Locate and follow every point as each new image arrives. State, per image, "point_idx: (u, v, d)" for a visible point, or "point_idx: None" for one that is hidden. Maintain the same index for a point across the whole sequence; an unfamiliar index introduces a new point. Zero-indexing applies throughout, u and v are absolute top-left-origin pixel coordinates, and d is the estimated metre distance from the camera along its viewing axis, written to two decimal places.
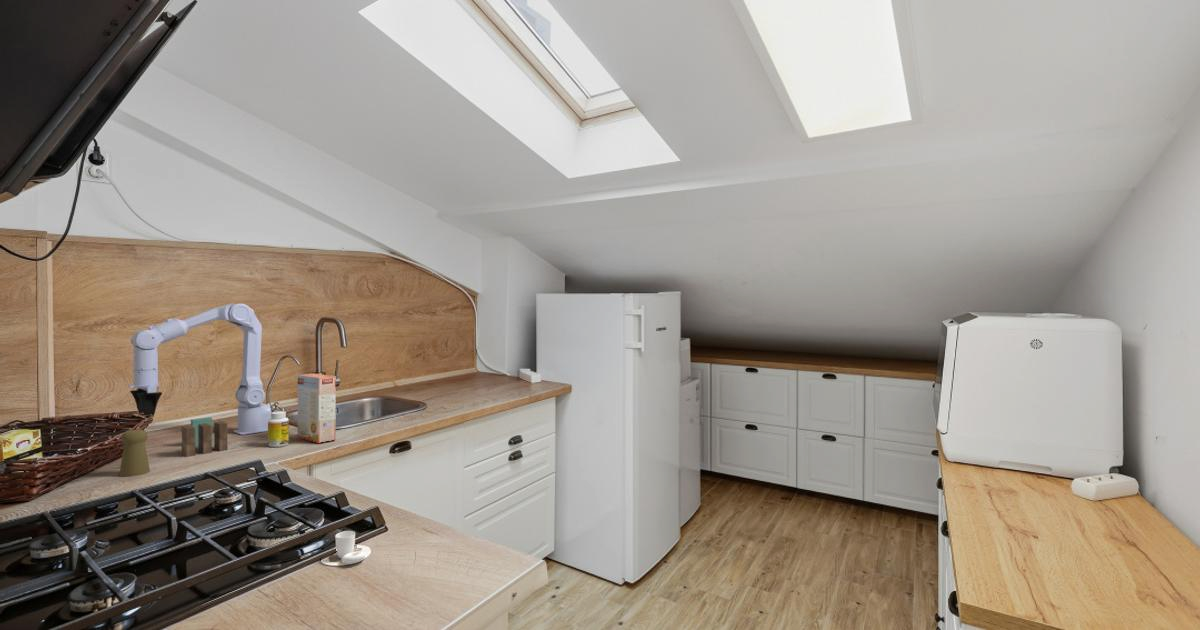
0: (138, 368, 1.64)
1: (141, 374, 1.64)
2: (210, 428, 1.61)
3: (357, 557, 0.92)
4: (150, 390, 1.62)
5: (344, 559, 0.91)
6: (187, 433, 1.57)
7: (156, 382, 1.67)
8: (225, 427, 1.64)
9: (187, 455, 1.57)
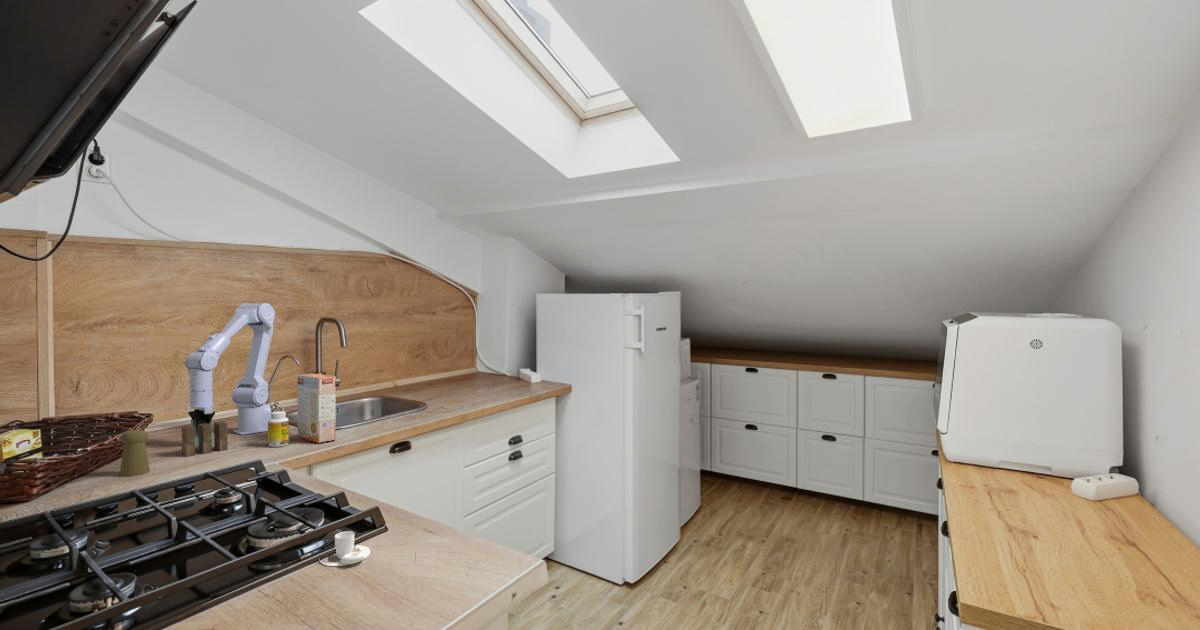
0: (200, 389, 1.68)
1: (198, 395, 1.68)
2: (210, 428, 1.61)
3: (356, 557, 0.91)
4: (207, 411, 1.66)
5: (343, 559, 0.91)
6: (187, 433, 1.57)
7: (211, 403, 1.71)
8: (225, 427, 1.64)
9: (187, 455, 1.57)
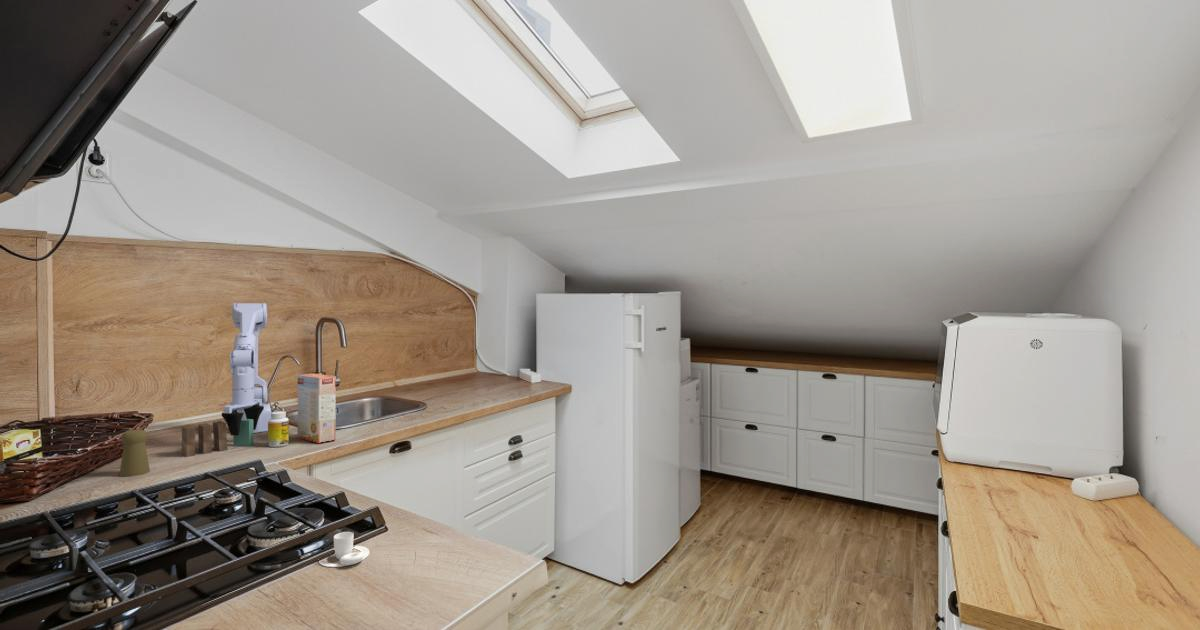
0: (249, 386, 1.69)
1: (233, 393, 1.68)
2: (210, 428, 1.61)
3: (355, 558, 0.91)
4: (225, 410, 1.63)
5: (342, 560, 0.91)
6: (187, 433, 1.57)
7: (246, 402, 1.68)
8: (224, 427, 1.64)
9: (187, 455, 1.57)
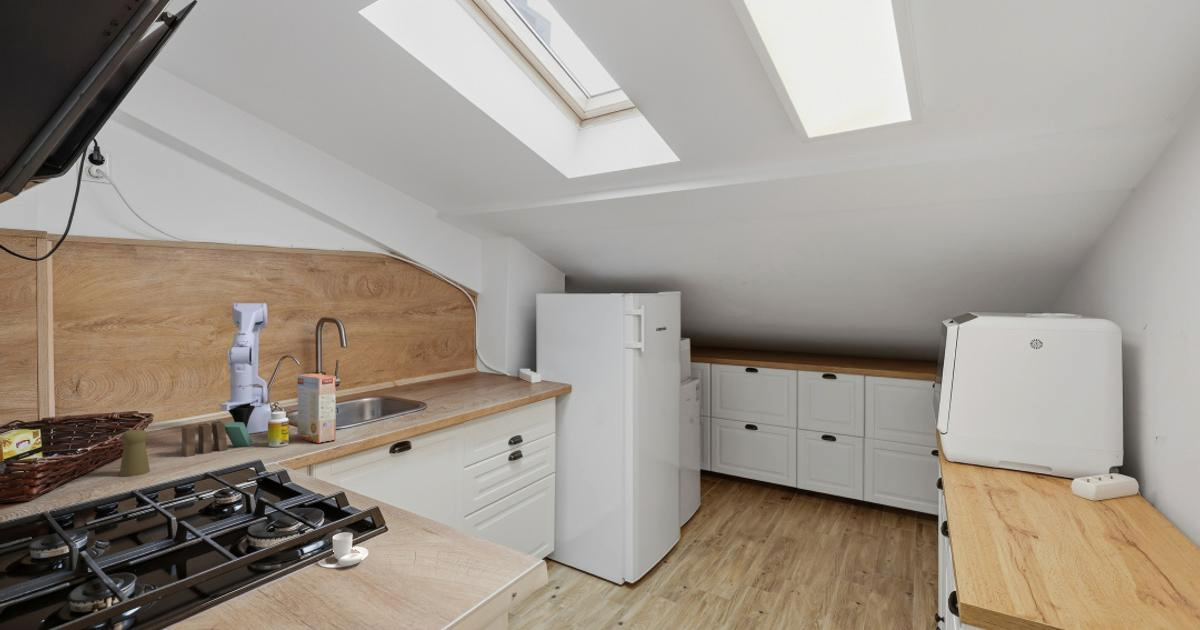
0: (247, 384, 1.68)
1: (231, 390, 1.67)
2: (210, 428, 1.61)
3: (354, 559, 0.91)
4: (222, 408, 1.62)
5: (341, 561, 0.91)
6: (187, 433, 1.57)
7: (243, 399, 1.68)
8: (223, 427, 1.64)
9: (187, 455, 1.57)
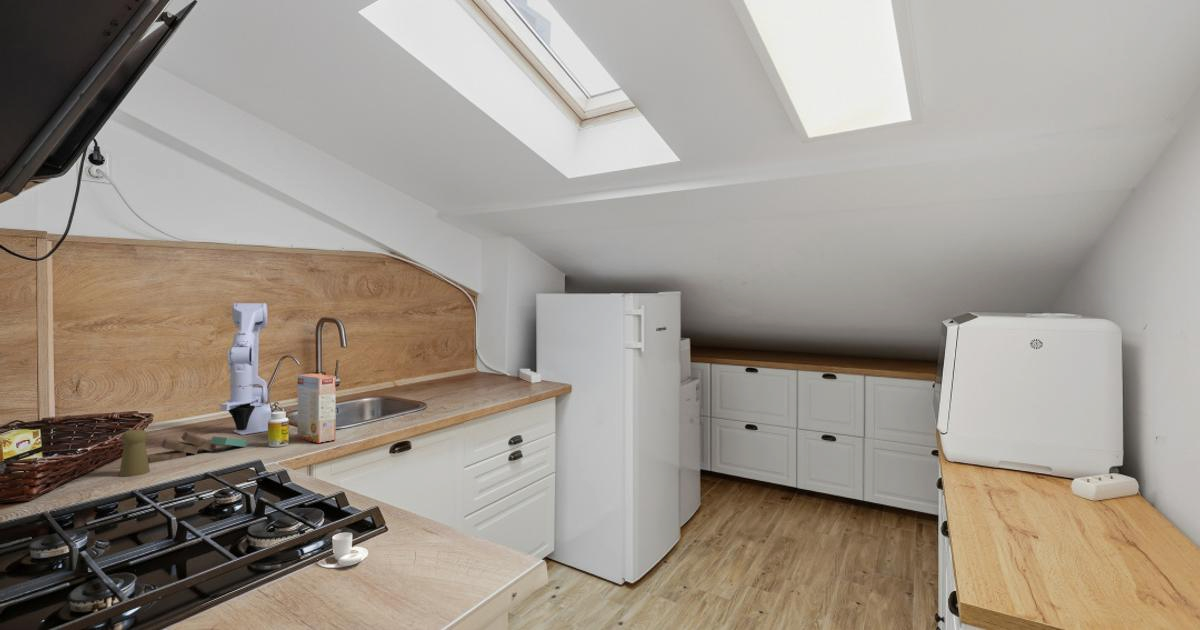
0: (247, 384, 1.68)
1: (231, 390, 1.67)
2: (169, 442, 1.54)
3: (354, 559, 0.91)
4: (222, 408, 1.62)
5: (341, 561, 0.90)
6: None
7: (243, 399, 1.68)
8: (191, 437, 1.59)
9: None
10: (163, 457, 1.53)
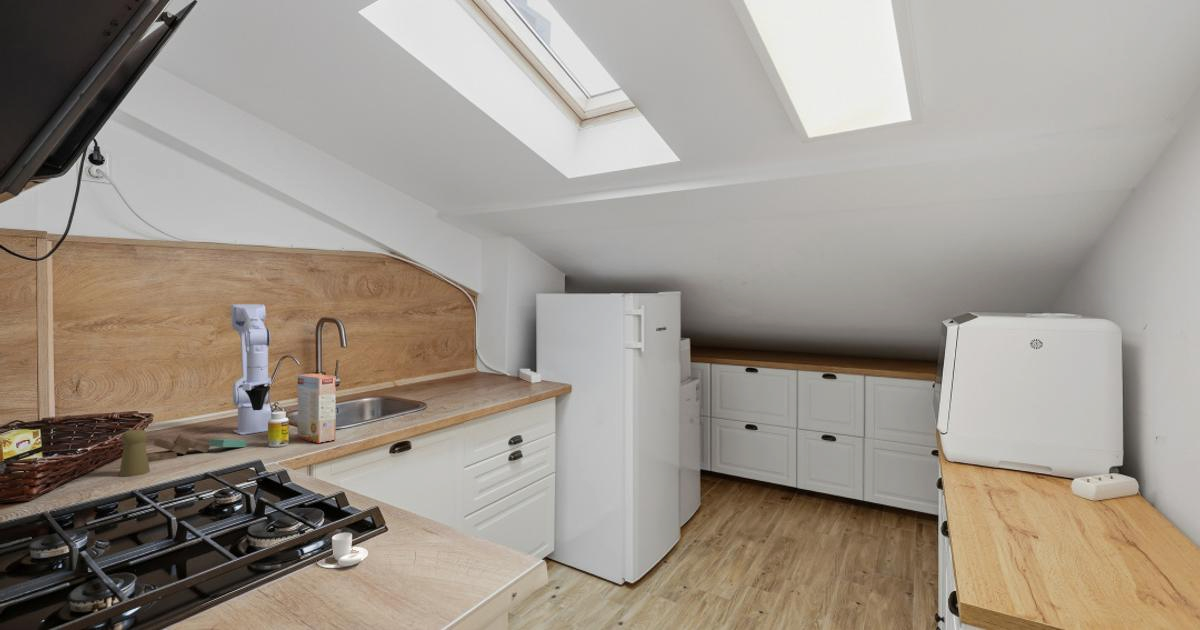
0: (265, 364, 1.72)
1: (248, 371, 1.70)
2: (159, 439, 1.55)
3: (354, 559, 0.91)
4: (244, 387, 1.66)
5: (340, 561, 0.90)
6: None
7: (262, 380, 1.71)
8: (183, 439, 1.58)
9: None
10: (153, 457, 1.52)
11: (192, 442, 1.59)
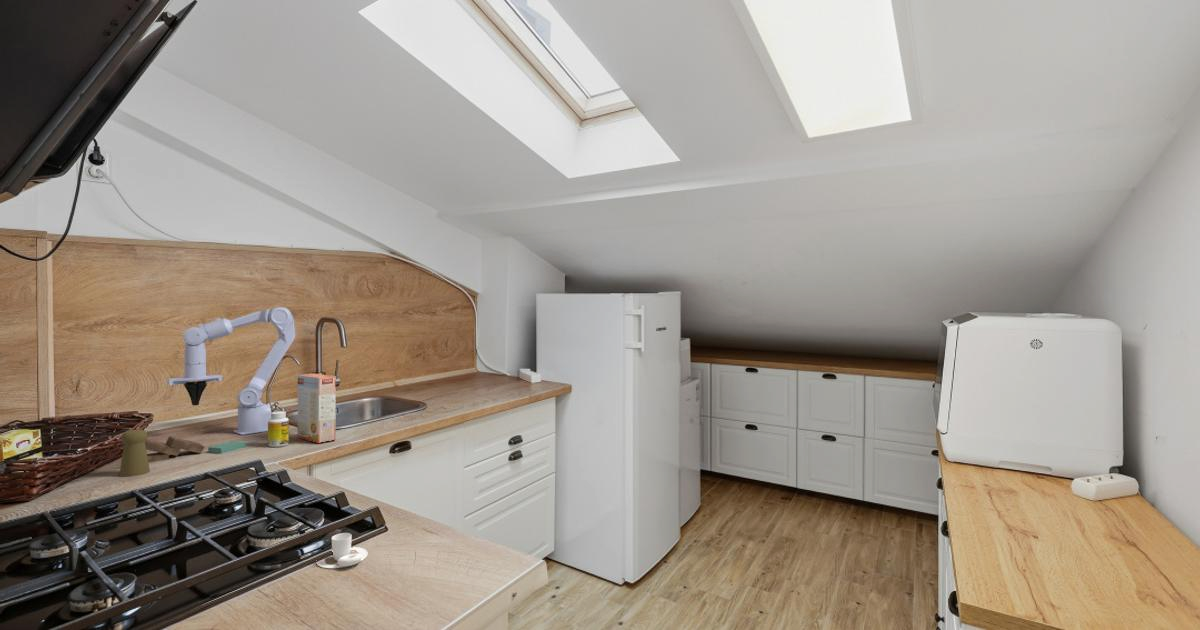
0: (186, 362, 1.78)
1: None
2: (149, 443, 1.52)
3: (353, 560, 0.91)
4: (167, 382, 1.76)
5: (340, 562, 0.90)
6: None
7: (190, 376, 1.78)
8: (178, 442, 1.56)
9: None
10: None
11: (187, 444, 1.58)
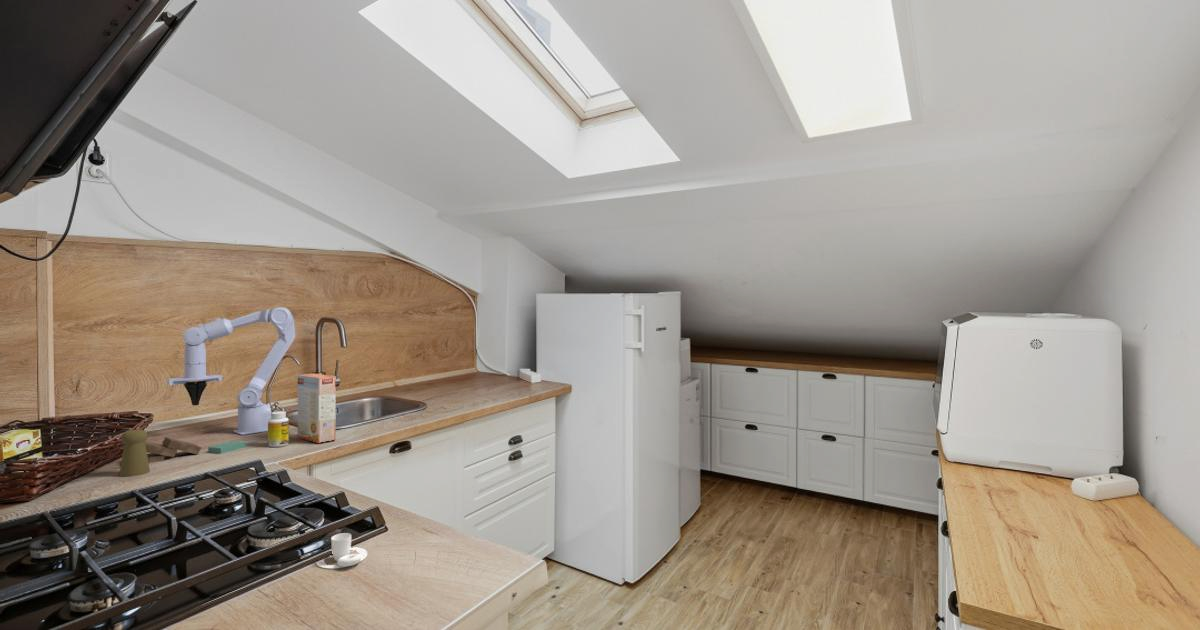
0: (186, 362, 1.78)
1: None
2: (146, 445, 1.50)
3: (353, 560, 0.91)
4: (167, 382, 1.76)
5: (340, 562, 0.90)
6: None
7: (190, 376, 1.78)
8: (174, 443, 1.55)
9: None
10: None
11: (183, 445, 1.57)
